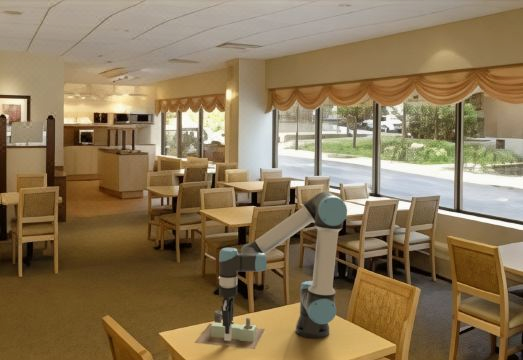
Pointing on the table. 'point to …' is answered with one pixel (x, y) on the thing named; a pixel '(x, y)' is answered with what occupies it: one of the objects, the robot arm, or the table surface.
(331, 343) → the table surface
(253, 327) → the link
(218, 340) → the pintle board
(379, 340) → the table surface
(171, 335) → the table surface
